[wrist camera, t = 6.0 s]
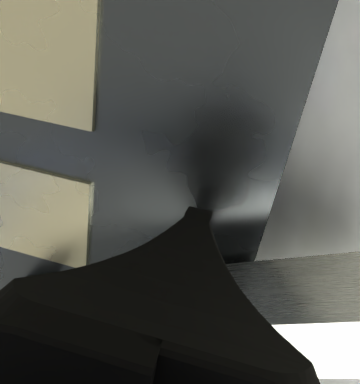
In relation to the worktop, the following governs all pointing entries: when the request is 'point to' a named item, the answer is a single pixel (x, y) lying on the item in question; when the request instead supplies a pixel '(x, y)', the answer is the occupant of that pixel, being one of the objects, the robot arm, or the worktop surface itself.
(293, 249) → the worktop surface
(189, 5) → the chassis tray
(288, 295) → the swing bar
